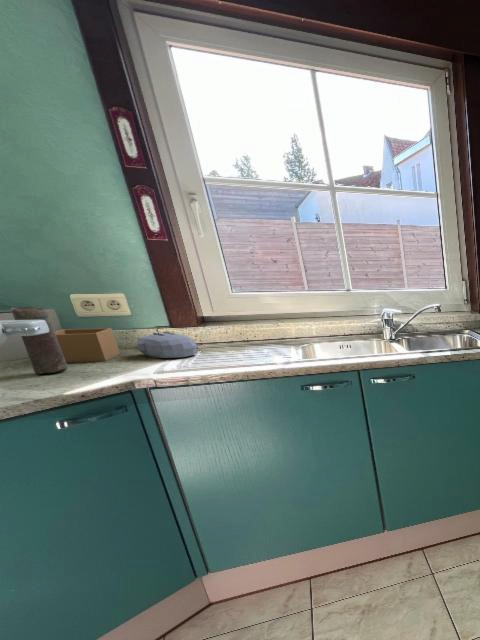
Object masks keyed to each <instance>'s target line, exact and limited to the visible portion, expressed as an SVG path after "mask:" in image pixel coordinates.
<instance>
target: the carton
mask: <svg viewBox="0 0 480 640" xmlns="http://www.w3.org/2000/svg"><path fill="white" fill-rule="evenodd" d="M54 332H55V335H56V337H57V340H58V343H59V345H60V348H61V350H62V353H63V356H64V358H65V361H66V364H68V363H69V364H70V363H89V362H90V363H91V362H106V361H108V360H111V359H112V358H115V357H118V356H119V355H120V354H121V352H120V349H119V346H118V343H117V340H116V338H115V335H114V331H113V329H112V327H106V328H105V327H104V328H102V327H101V328H67V329H66V328H65V329H64V328H63V329H60V330H56V331H54Z"/></svg>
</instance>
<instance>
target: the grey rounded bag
mask: <svg viewBox="0 0 480 640" xmlns="http://www.w3.org/2000/svg"><path fill="white" fill-rule="evenodd" d="M136 346H137V347H138V350H139V351H140V353H141V354H143V355H145V356H146V357H149V358H153V359H182V358H186V357H191V356H195V355H197V354H198V343H197V342H196V341H195V340H194V339H192V338H191V337H190V336H189V335H185V334H180V333H174V332H170V331H162V333H161V332H152V334H149V335H145V336H141V337H138V339H137V341H136Z"/></svg>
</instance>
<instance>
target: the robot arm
mask: <svg viewBox="0 0 480 640" xmlns="http://www.w3.org/2000/svg"><path fill="white" fill-rule="evenodd" d="M48 332H49V328H48V325H47V323H46V321H45V320H15V319H8V320H7V319H5V320H0V346H2V345H3V344H4V343H5V342H6V341H7V339H8V337H9V338H12V337H21V336H33V335H39V334H44V333H48Z"/></svg>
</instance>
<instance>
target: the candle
mask: <svg viewBox="0 0 480 640" xmlns="http://www.w3.org/2000/svg"><path fill="white" fill-rule="evenodd" d="M10 310H11V313H12V314H11V315H12V316H13V320H45V321H46V323H47V325H48V328H49V332H48V333H44V334H39V335H33V336H20V337H21V340H22V342H23V345H24V347H25V350H26V353H27V356H28V358H29V361H30V363H31V367H32V369H33V371H34V374H35V375H43V374H53V373H55V374H56V373H61V372H66V370H68V369H69V367H68V363H66V361H65V358H64V356H63V353H62V350H61V348H60V345H59V343H58V340H57V337H56V335H55V332H56V331H55V330H54V327H53V324H52V321H51V320H50V316H49V313H48V311H47V308H44V307H43V308H42V307H35V306H14V307H11V308H10Z"/></svg>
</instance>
